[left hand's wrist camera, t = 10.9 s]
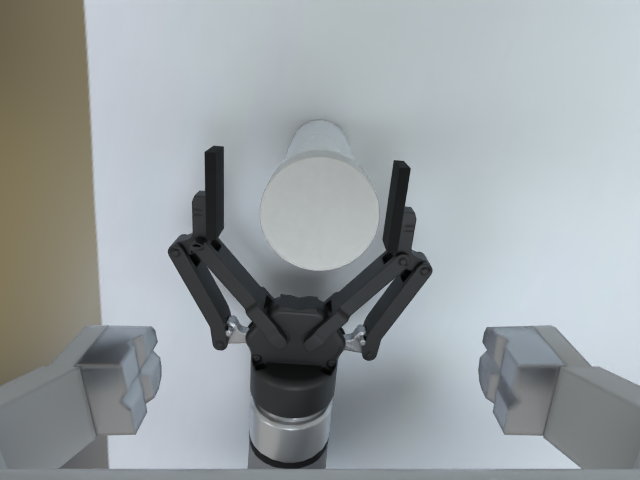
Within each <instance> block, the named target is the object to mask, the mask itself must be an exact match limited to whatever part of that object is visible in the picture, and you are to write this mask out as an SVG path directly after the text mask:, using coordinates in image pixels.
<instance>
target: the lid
mask: <svg viewBox="0 0 640 480" xmlns="http://www.w3.org/2000/svg"><path fill="white" fill-rule="evenodd" d="M379 213H380V212H379V203H378V199H377V196H376V193H375V191H374V189H373V186H372V184H371V182H370V180H369V178H368V176H367V175H366V173H365V172H364V171H363V169H362V168H361V167H360V166H359V165H358V164H357V163H356V162H354V161H353V160H352V159H350V158H348V157H347V156H345V155H342V154H340V153H337V152H334V151H329V150H311V151H306V152H302V153H299V154H297V155H295V156H293V157H291V158H289V159H288V160H286V161H285V162H284V163H283V164H281V165H280V166H279V168H278V169H277V170H276V171H275V172H274V174H273V175H272V177H271V179H270V181H269V183H268V185H267V187H266V189H265V191H264V194H263V197H262V200H261V205H260V222H261V227H262V230H263V233H264V236H265V238H266V240H267V242H268V243H269V245H270V246H271V248H272V249H273V250H274V251H275V252H276V253H277V254H278V255H279V256H280V257H281V258H283V259H284V260H286V261H287V262H289V263H291V264H293V265H295V266H297V267H300V268H303V269H308V270H315V271H325V270H332V269H336V268H339V267H342V266H345V265H347V264H349V263H350V262H352V261H354V260H355V259H357V258H358V257H359V256H360V255H361V254H362V253H364V251H365V250H366V249H367V248H368V247H369V245H370V244H371V242H372V241H373V238H374V236H375V234H376V231H377V228H378V224H379Z"/></svg>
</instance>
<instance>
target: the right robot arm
mask: <svg viewBox="0 0 640 480" xmlns="http://www.w3.org/2000/svg"><path fill="white" fill-rule="evenodd" d="M410 169H411V168H410V167H409V166H408V165H407V164H406V163H405V162H404V161H396V160H394V163H393V170H392V177H391V184H390V191H389V198H388V205H387V212H386V219H385V226H384V233H383V243H384V245H385V248H386V251H385V252H384V253H383V254H382V255H380V256H379V257H378V258H377V259H376V260H375V261H374V262H373V263H371V264H370V265H369V266H368V267H367V268H366V269H365V270H363V271H362V272H361V273H360V274H359V275H358V276H357V277H355V278H354V279H353V280H352V281H351V282H350V283H349V284H348V285H346V286H345V287H344V288H343V289H342V290H341V291H339V292H336V293H334V294H333V295H332V296H330V297H329V298H328V299H327V300H326V301H325V302H324V303H323V302H322V301H320V300H317V297H311V296H307V297H301V298H298V297H295V296H291V295H283V294H281V297H278V298H275V299H274V298H273V297H272V296H271V295H270V294H269V293H268V291H267V290H266V289H265V288H264V287H261V286H259V284H258V283H257V282H256V281H255V280H254V279H253V277H252V276H251V275H250V274H249V273H248V272H247V270H246V269H245V268H244V267H243V266H242V265H241V264H240V262H239V261H238V260H237V259H236V258H235V257H234V255H233V254H232V253H231V252H230V251H229V250H228V248H227V247H226V246H225V245H224V244H223V243H222V241H221V240H220V239H219V238H218V237H219V235H220V233H221V232H222V230H223V229H224V147H222V146H213V147H211V148H210V149H208V150H207V151H205V191H199V192H198V193H197V194H196V195H195V196H194V198H193V201H192V214H193V215H192V219H193V233H192V234H188V235H186V234H183V235H180V236H179V237H178V238H177V239H176V241H175V242H174V243H173V244H172V245H171V246H170V248H169V249H168V254H169V257H170V258H171V260H172V262H173V263H174V265H175V267H176V269H177V270H178V272H179V274H180V276H181V277H182V279H183V281H184V283H185V284H186V286H187V288H188V289H189V291H190V293H191V295H192V296H193V298H194V300H195V302H196V303H197V305H198V307H199V309H200V310H201V312H202V314H203V316H204V317H205V319H206V321H207V322H208V324H209V326H210V329H211V336H212V343H213V346H214V348H215V349H217V350H224V349H226V347H227V345H228V343H247V345H248V347H249V349H250V351H251V379H250V391H251V396H250V430H249V439H250V442H249V458H248V469H325V468H326V456H327V444H328V438H329V434H330V425H331V416H332V406H333V395H334V389H335V380H336V372H337V363H338V358H339V356H340V354H341V353H342V352H343V350H348V351H354V352H360V353H362V356H363V358H364V359H365V360H368V361H371V360H373V359H375V358H376V356H377V352H378V349H379V345H380V342H381V339H382V338H383V336H384V335H385V334H386V332H387V331H388V330H389V329H390V327H391V326H392V325H393V323H394V322H395V321H396V319H397V318H398V317H399V316H400V314H401V313H402V312H403V310H404V309H405V308H406V307H407V305H408V304H409V303H410V301H411V300H412V299H413V297H414V296H415V295H416V294H417V292H418V291H419V290H420V288H421V287H422V286H423V284H424V283H425V282H426V281H427V279H428V278H429V277H430V275H431V274H432V267H431V265H430V263H429V262H428V260H427V258H426V257H425V255H424V254H423V253H422V252H415V251H413V250H411V247H412V242H413V236H414V230H415V224H416V216H415V212H414V211H413V209H412V208H411V207H405V201H406V195H407V189H408V182H409V176H410ZM207 267H208V268H209V269H210V270H211V271H212V272H213V273H214V275H215V276H216V277H217V278H218V279H219V280H220V281H221V282H222V283H223V285H224V286H225V287H226V288H227V289H228V290H229V291H230V292H231V294H232V295H233V296H234V297H235V298H236V299H237V300H238V301H239V303H240V304H241V305H242V306H243V307H244V308H245V311H246V314H247V316H248V317H249V318H250V319H251V320H252V322H251V323H250V324H249V326H248V327H243V326H242V325H241V324H240V323H239V321H238V319H237V317H236V316H231V312H230V309H229V306H228V304H227V302H226V300H225V299H224V297H223V295H222V293H221V291H220V290H219V288H218V286H217V284H216V282H215V280H214V279H213V277H212V275H211V273H210V271H209V269H208V268H207ZM395 277H396V278H395ZM394 278H395V279H394ZM393 279H394V280H393ZM392 280H393V282H392V283H391V284H390V286H389V287H388V288H387V290H386V291H385V292H384V294H383V295H382V296H381V298H380V299H379V301H378V302H377V303H376V305H375V306H374V307H373V309H372V310H371V311H370V313H369V314H368V316H367V317H366V319H365V321H364V324H363V325H358V326H357V328H356V329H355V330H354V332H353V333H351V334H345V332H344V330H343V329H342V326H343V325H344V324H345V323H346V322H347V321H348V320H349V317H350V316H351V315H352V314H353V313H354V312H355V311H357V310H358V309H359V308H360V307H361V306H362V305H364V304H365V303H366V302H367V301H368V300H369V299H371V298H372V297H373V296H374V295H375V294H377V293H378V292H379V291H380V290H381V289H382V288H384V287H385V286H386V285H387V284H388V283H389V282H391V281H392Z"/></svg>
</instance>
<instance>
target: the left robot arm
mask: <svg viewBox="0 0 640 480" xmlns="http://www.w3.org/2000/svg"><path fill="white" fill-rule="evenodd" d="M156 344H157V337H156V332H155V330H154V329H153V327H152V326H108V325H99V326H87V327H85V328H84V329H83V330H82V331H81V332H80V333H79V334H78V335H77V336H76V337H75V338H74V339H73V340H72V341H71V343H70V344H69V345H68V346H67V347H66V348H65V349H64V350H63V351H62V352H61V353H60V354H59V355H58V357H57V358H56V359H55V360H54V361H53V362H52V363H51V364H50V365H49V366H48V367H39V368H37V369H35V370H33V371H31V372H29V373H27V374H25V375H22V376H20V377H18V378H16V379H14V380H12V381H10V382H8V383H6V384H3V385H1V386H0V480H640V386H639V385H637V384H634V383H632V382H630V381H628V380H626V379H624V378H622V377H620V376H618V375H615V374H613V373H611V372H609V371H607V370H605V369H603V368H601V367H592V366H591V365H590V364H589V363H588V362H587V361H586V360H585V359H584V358H583V356H582V355H581V354H580V353H579V352H578V351H577V350H576V349H575V348H574V347H573V346H572V345H571V344H570V342H569V341H568V340H567V339H566V338H565V337H564V336H563V335H562V334H561V333H560V332H559V331H558V330H557V328H556V327H553V326H551V325H542V326H514V327H487V328H486V330H485V332H484V336H483V344H484V346H485V347H486V349H487V351H486V352H485V353H484V354H483V355H482V356H481V357H480V361H479V369H478V371H479V382H480V385H481V389H482V391H483V393H484V395H485V397H486V398H487V399H488V400H490V401H491V402H493V403H494V409H493V413H494V415H495V417H496V419H497V421H498V423H499V425H500V427H501V429H502V431H503V433H504V434H505V435H539V436H544V438H545V439H546V440H547V441H548V442H550V443H551V444H552V445H553V446H555V447H556V448H557V449H558V450H560V451H561V452H562V453H563V454H564V455H566V456H567V457H568V458H569V459H571V460H572V461H573V462H574V463H575V464H577V465H578V466H579V467H580V468H582V469H59V468H60V467H61V466H62V465H63V464H65V463H66V462H67V461H68V460H70V459H71V458H72V457H73V456H75V455H76V454H77V453H78V452H79V451H81V450H82V449H83V448H84V447H86V446H87V445H88V444H89V443H90V442H92V441H93V440H94V439H95V438H96V436H101V435H136V433H137V431H138V429H139V427H140V425H141V423H142V421H143V419H144V417H145V415H146V413H147V409H146V403H147V402H149V401H150V400H152V399H153V398H154V397H155V395H156V393H157V391H158V389H159V385H160V380H161V361H160V357H159V356H158V355H157V354H156V353H155V352H154V351H153V349H154V347H155V346H156Z"/></svg>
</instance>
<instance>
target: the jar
mask: <svg viewBox="0 0 640 480" xmlns="http://www.w3.org/2000/svg"><path fill="white" fill-rule="evenodd" d="M311 150H329V151H334V152H337V153H340V154H342V155H345V156H347V157H348V158H350V159H352V160H353V161H354V162H356V160H355V158H354V155H353V153H352V150H351V148H350V145H349V143H348V140H347V138H346V136H345V134H344V132H343V131H342V130H341V129H340V128H339V127H338V126H337V125H335V124H334V123H331V122H329V121H325V120H314V121H311V122H308V123H306V124H304V125H303V126H302V127H300V128H299V129H298V130H297V132H296V133H295V135H294V137H293V139H292V141H291V144H290V146H289V149H288V151H287V154H286V156H285V158H284V161H283V163H284V162H285V161H286V160H288V159H289V158H291V157H293V156H295V155H297V154H299V153H302V152H306V151H311ZM283 163H282V164H283ZM356 163H357V162H356Z"/></svg>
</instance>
